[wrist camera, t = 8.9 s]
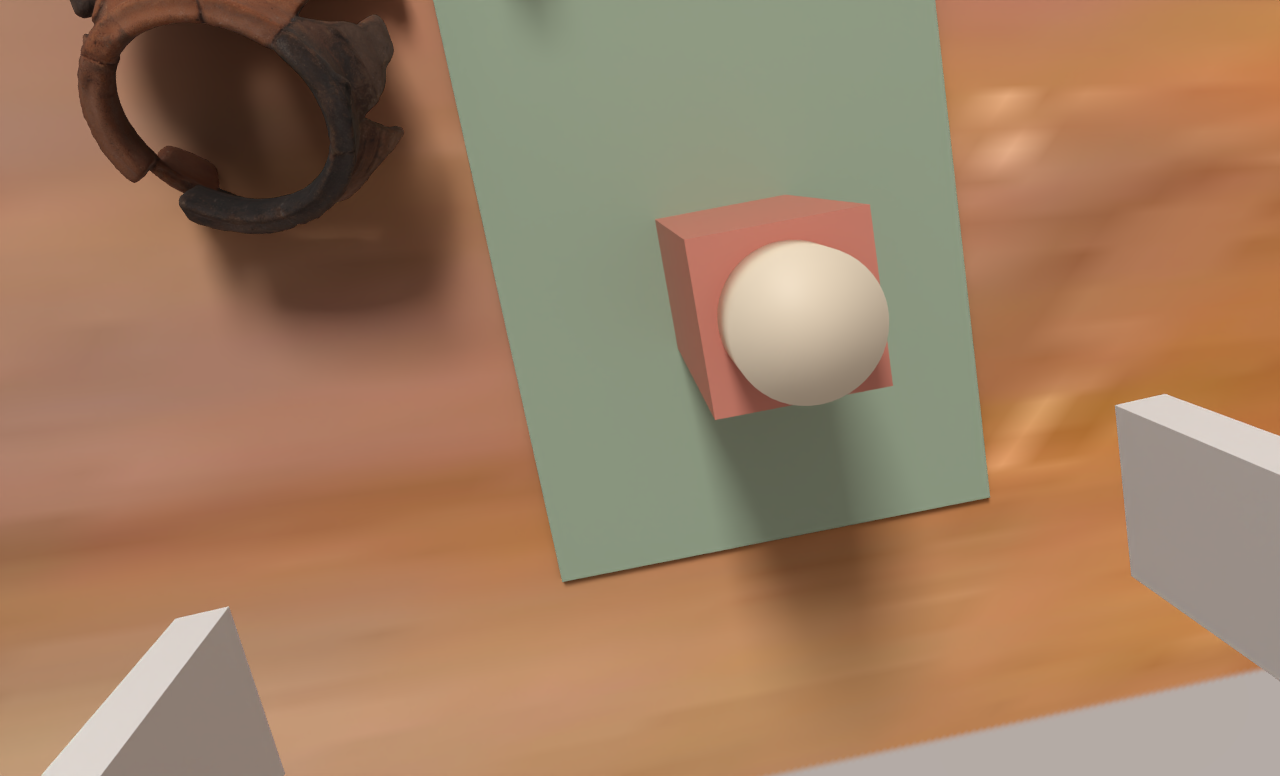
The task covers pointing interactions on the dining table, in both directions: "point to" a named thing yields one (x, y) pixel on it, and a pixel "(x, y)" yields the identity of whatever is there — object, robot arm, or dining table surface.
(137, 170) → the pottery mug
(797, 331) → the red tall block
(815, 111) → the felt mat
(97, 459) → the dining table surface
